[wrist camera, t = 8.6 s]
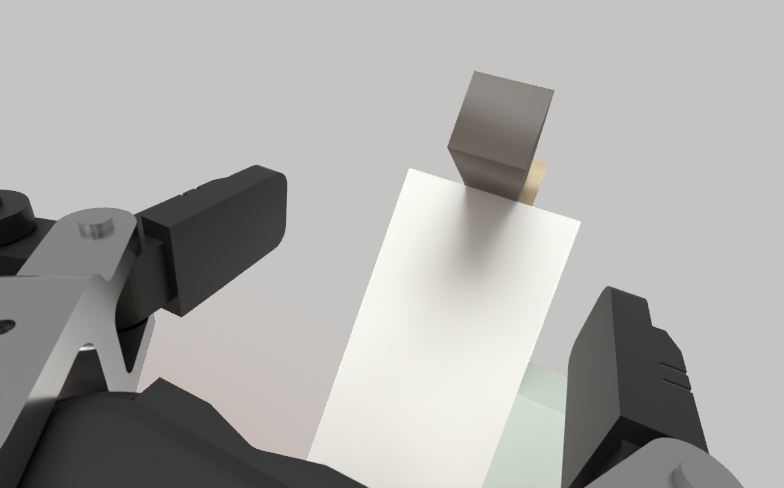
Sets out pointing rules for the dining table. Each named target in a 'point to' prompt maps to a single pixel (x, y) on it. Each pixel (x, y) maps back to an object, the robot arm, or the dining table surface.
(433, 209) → the riser
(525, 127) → the block
